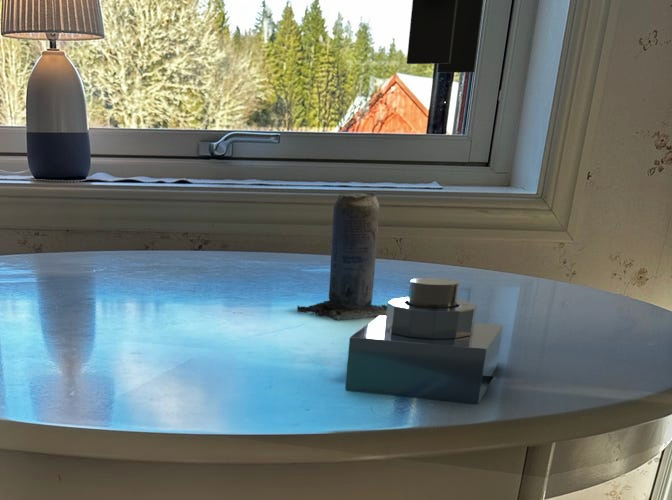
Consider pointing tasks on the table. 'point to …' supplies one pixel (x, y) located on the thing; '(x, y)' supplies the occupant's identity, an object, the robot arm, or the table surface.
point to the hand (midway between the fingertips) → (443, 69)
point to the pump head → (433, 293)
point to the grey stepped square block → (424, 353)
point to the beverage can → (352, 260)
